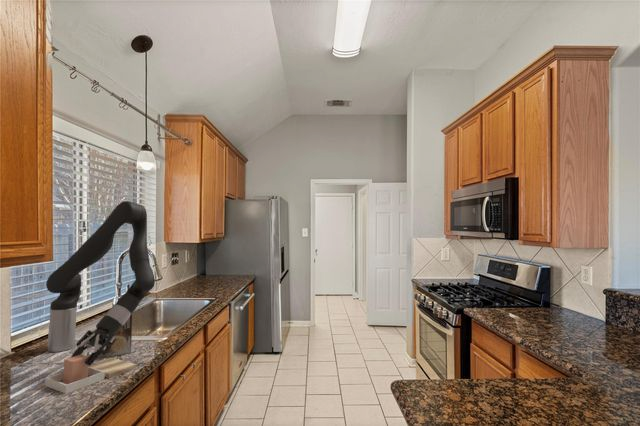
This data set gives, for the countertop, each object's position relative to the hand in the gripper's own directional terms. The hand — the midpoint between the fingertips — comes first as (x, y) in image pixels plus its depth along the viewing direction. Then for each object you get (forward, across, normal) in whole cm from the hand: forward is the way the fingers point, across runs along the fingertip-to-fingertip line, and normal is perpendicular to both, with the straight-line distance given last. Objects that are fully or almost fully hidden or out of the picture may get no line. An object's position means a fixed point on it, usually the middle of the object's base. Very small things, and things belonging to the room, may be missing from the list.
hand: (79, 362), depth 115 cm
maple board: (-3, 0, +12) cm, 13 cm away
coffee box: (-12, -14, +21) cm, 28 cm away
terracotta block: (+5, 0, +4) cm, 7 cm away
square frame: (+5, 0, +4) cm, 6 cm away
